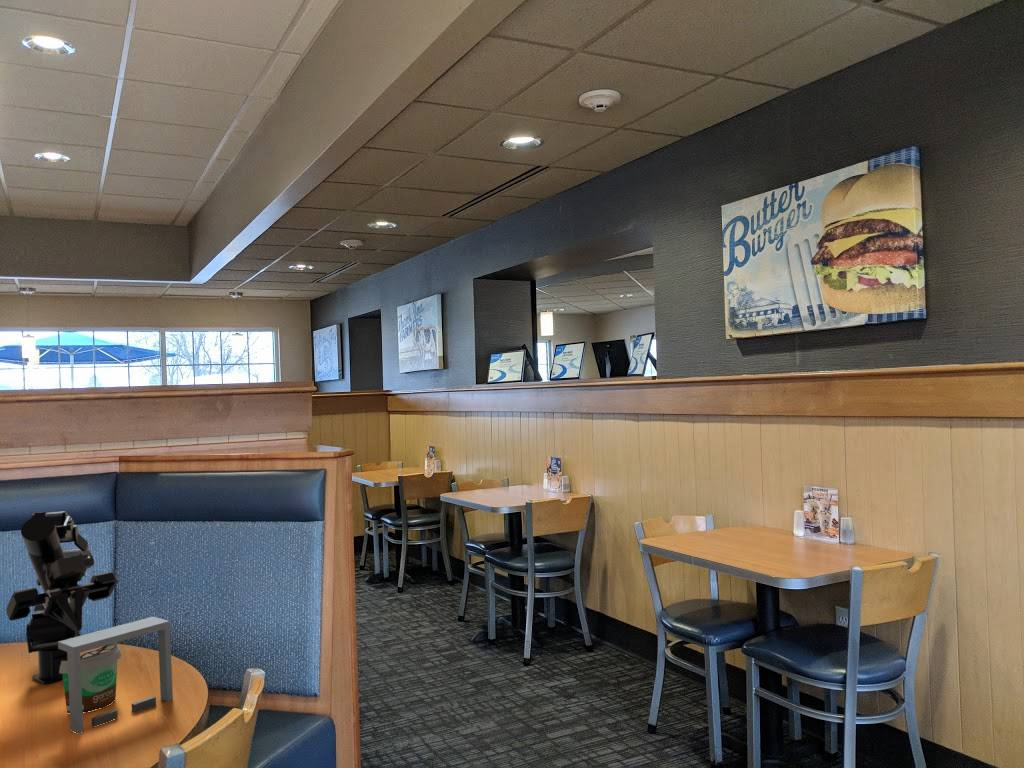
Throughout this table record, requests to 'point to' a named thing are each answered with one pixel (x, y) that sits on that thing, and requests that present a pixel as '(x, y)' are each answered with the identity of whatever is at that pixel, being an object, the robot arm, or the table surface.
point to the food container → (95, 677)
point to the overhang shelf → (109, 637)
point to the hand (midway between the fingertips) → (79, 630)
